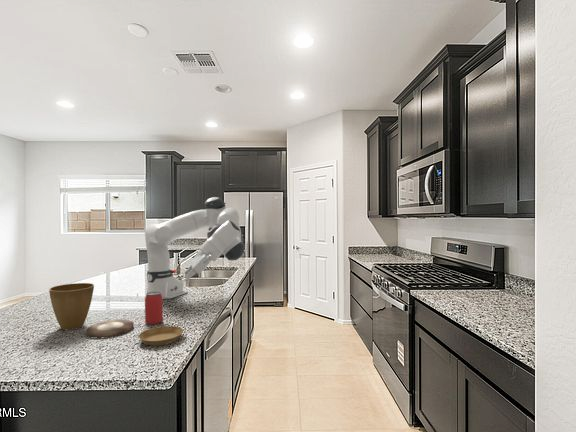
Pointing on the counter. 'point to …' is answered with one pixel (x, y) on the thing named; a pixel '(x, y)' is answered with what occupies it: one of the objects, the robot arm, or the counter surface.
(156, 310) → the beer can
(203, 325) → the counter surface
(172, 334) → the plant saucer
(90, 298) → the plant pot
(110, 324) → the disc
